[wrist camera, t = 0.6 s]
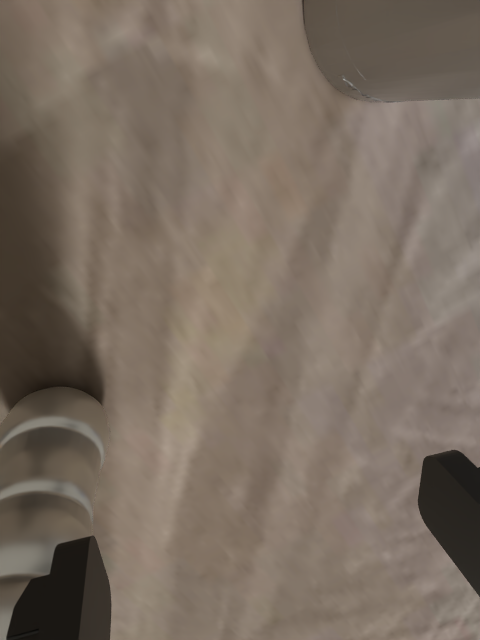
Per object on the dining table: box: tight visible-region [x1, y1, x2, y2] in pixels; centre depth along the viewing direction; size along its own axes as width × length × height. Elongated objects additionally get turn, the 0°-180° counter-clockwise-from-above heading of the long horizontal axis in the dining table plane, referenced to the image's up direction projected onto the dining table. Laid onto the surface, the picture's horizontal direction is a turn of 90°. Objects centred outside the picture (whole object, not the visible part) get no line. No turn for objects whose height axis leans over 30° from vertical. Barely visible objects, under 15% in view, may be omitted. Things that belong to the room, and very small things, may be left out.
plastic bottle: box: [0, 387, 110, 640], centre depth 20 cm, size 6×7×20 cm
